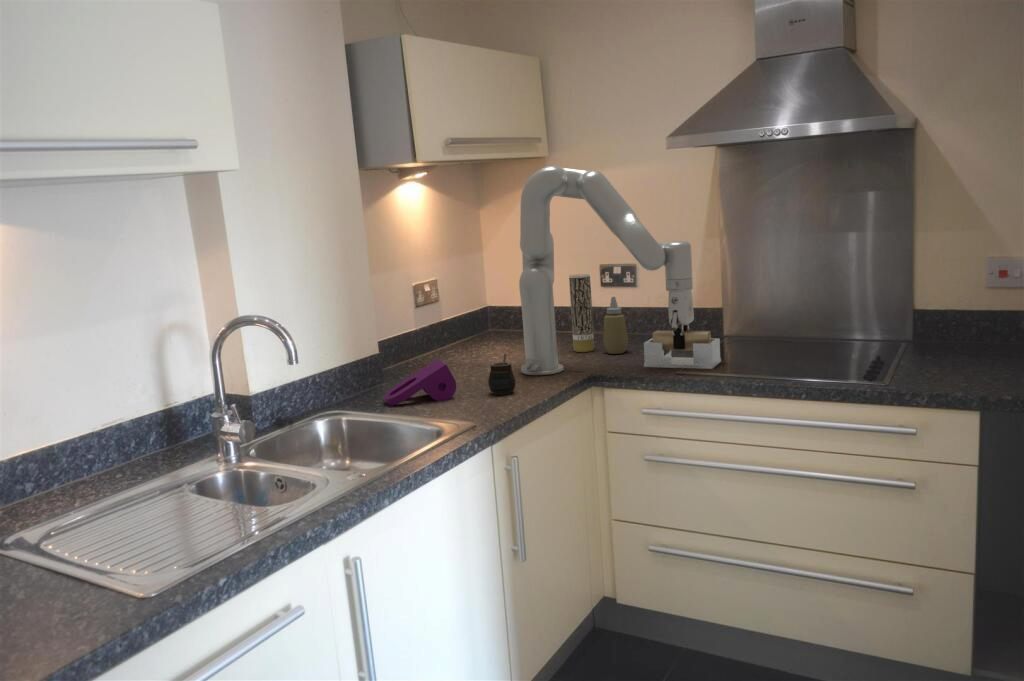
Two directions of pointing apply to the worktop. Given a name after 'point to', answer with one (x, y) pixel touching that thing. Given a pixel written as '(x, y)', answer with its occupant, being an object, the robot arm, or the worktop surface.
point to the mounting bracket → (425, 384)
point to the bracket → (702, 357)
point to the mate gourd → (501, 378)
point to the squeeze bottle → (615, 330)
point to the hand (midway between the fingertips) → (681, 346)
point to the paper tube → (581, 312)
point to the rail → (689, 338)
